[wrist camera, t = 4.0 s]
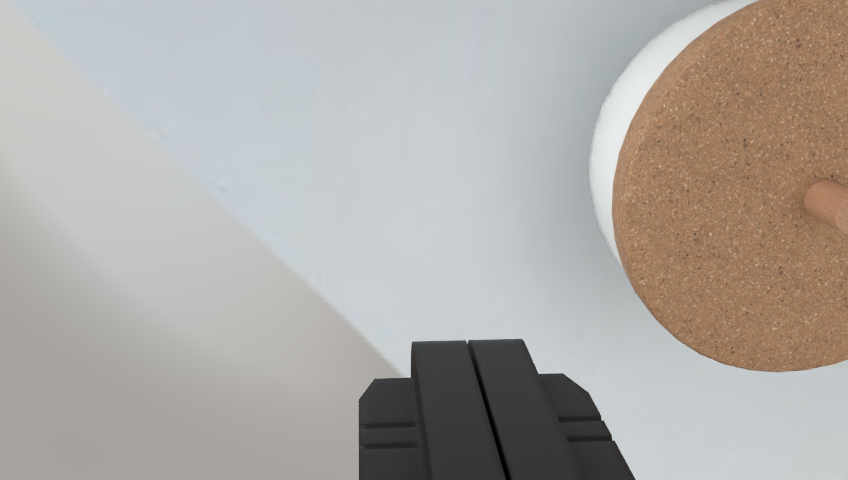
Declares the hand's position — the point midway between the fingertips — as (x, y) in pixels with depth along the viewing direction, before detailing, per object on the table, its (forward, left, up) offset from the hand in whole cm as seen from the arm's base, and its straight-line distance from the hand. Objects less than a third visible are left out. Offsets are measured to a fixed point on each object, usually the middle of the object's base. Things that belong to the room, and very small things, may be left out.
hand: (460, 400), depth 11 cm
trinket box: (+11, 0, -18) cm, 21 cm away
